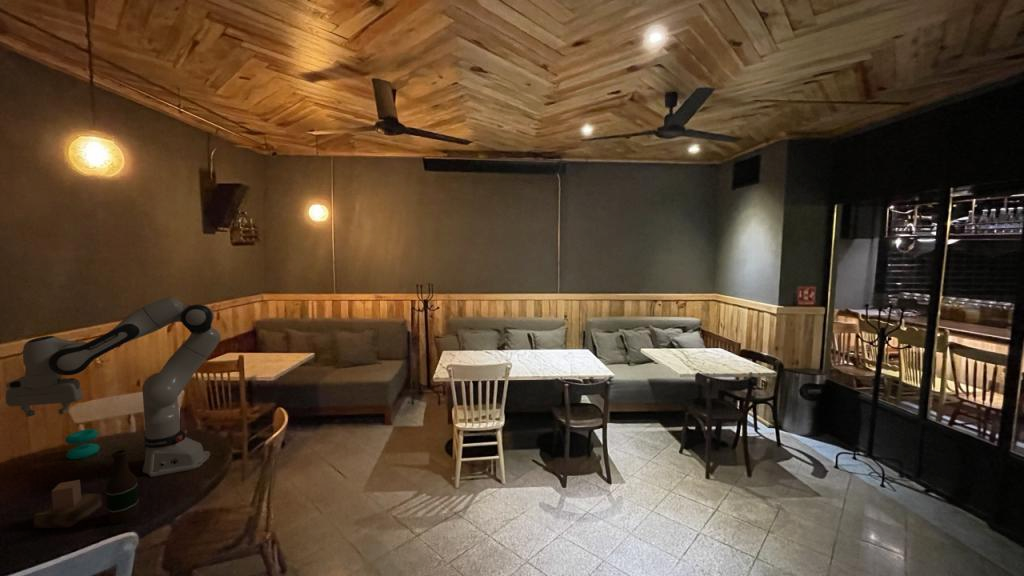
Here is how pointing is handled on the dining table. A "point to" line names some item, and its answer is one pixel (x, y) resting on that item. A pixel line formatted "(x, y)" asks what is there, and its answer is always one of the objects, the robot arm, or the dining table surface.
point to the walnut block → (67, 513)
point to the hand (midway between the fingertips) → (46, 414)
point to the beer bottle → (122, 491)
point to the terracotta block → (66, 495)
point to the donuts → (84, 449)
